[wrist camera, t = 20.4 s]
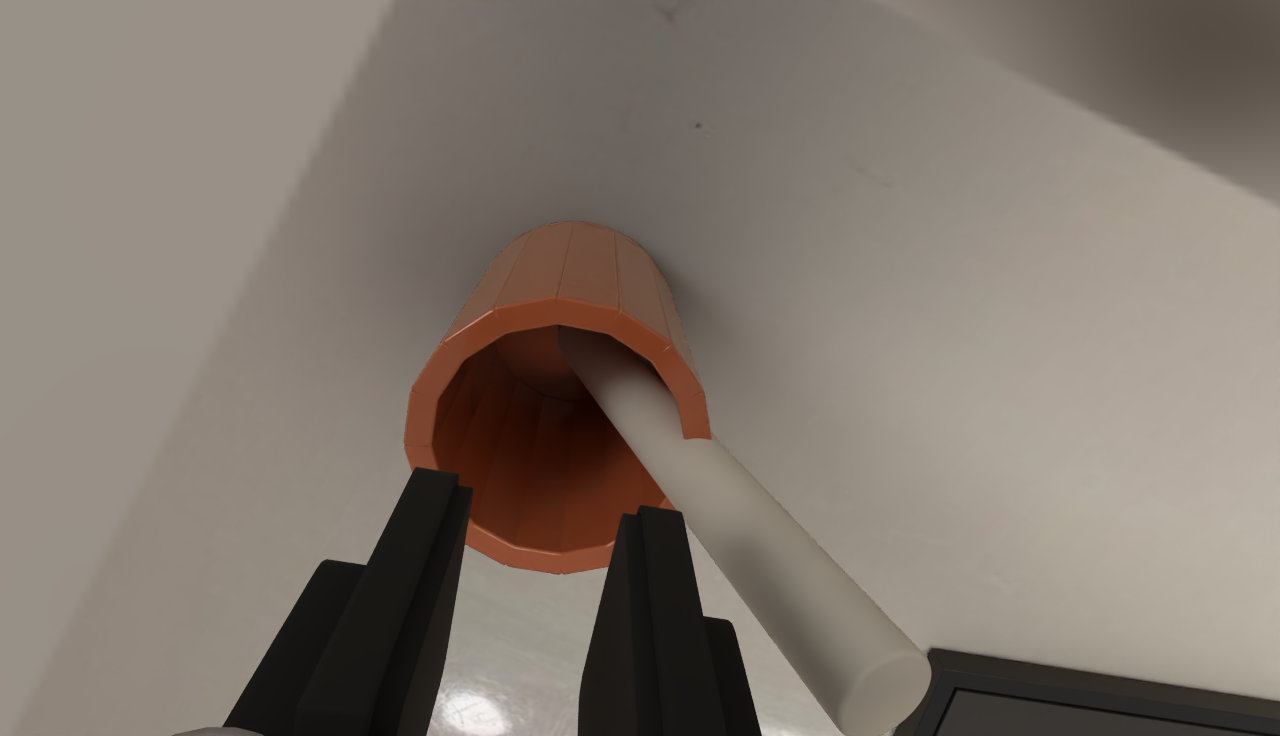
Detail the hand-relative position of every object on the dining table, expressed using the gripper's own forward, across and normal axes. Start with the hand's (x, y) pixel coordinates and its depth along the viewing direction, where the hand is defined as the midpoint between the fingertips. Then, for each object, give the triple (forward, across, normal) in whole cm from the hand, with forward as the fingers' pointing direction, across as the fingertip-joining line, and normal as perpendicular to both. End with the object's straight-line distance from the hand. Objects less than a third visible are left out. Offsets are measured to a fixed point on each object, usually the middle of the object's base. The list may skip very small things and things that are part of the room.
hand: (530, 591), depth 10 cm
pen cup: (+12, 0, 0) cm, 12 cm away
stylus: (+11, 0, 0) cm, 11 cm away
